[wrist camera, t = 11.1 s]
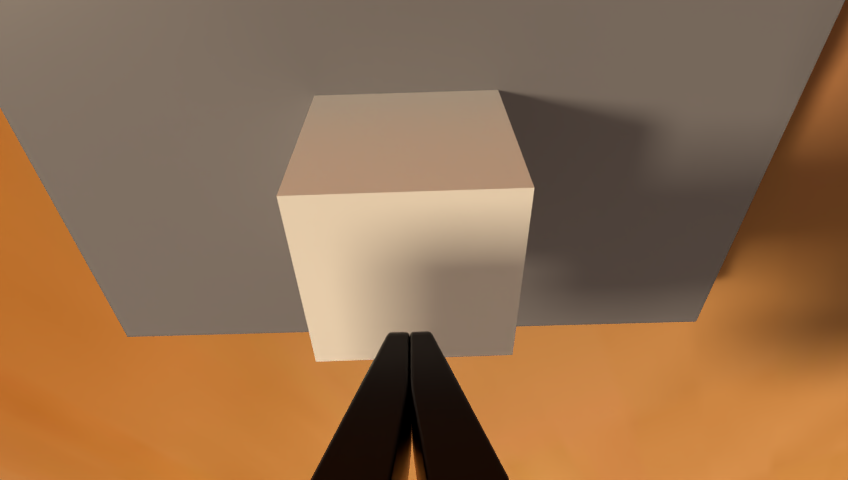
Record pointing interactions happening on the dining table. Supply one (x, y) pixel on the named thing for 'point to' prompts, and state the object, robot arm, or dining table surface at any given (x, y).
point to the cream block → (408, 221)
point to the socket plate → (402, 73)
